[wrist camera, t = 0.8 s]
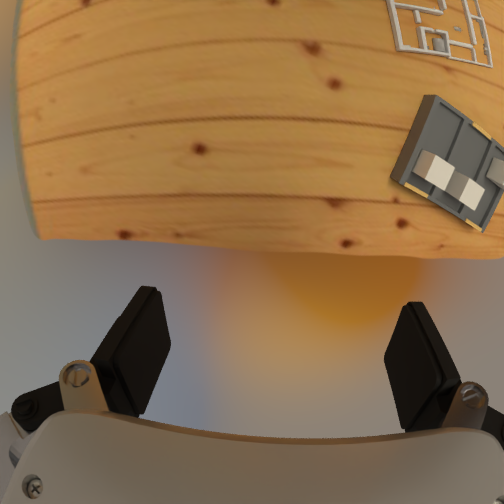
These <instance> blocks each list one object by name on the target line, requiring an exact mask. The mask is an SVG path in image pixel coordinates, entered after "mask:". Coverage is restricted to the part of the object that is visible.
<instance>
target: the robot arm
mask: <svg viewBox="0 0 504 504" xmlns="http://www.w3.org/2000/svg"><path fill="white" fill-rule="evenodd" d="M170 346H171V340H170V336H169V331H168V326H167V321H166V316H165V311H164V306H163V301H162V295H161V292H160V291H157V289H156V287H150V286H141V287H140V288H139V289H138V291H137V292H136V294H135V295H134V297H133V298H132V300H131V301H130V303H129V304H128V306H127V307H126V308H125V310H124V311H123V313H122V314H121V316H119V317H118V318H117V320H116V321H115V323H114V324H113V326H112V327H111V329H110V330H109V332H108V333H107V335H106V336H105V338H104V339H103V341H102V343H101V344H100V346H99V347H98V349H97V351H96V352H95V354H94V355H93V357H92V358H91V360H90V362H88V361H85V360H76V361H72V362H70V363H68V364H67V365H65V366H64V367H63V369H62V370H61V371H60V374H59V381H58V382H55V383H52V384H50V385H47V386H44V387H41V388H39V389H36V390H33V391H31V392H28V393H25V394H22V395H20V396H19V397H18V398H17V399H15V401H14V403H13V405H12V408H11V413H8V412H5V413H3V414H2V415H0V504H504V414H502V413H500V412H498V411H497V410H495V409H493V408H491V407H490V406H488V401H489V398H488V394H487V392H486V390H485V389H484V388H483V387H482V386H481V385H479V384H478V383H475V382H470V381H467V382H464V383H462V382H461V380H460V375H459V373H458V371H457V369H456V366H455V364H454V362H453V360H452V358H451V356H450V354H449V352H448V350H447V348H446V345H445V343H444V342H443V340H442V337H441V336H440V334H439V332H438V330H437V328H436V326H435V324H434V322H433V320H432V318H431V316H430V315H429V313H428V311H427V309H426V307H425V305H424V304H423V303H422V302H408V303H407V305H405V306H403V307H402V310H401V313H400V316H399V318H398V321H397V324H396V327H395V329H394V332H393V335H392V337H391V340H390V342H389V345H388V347H387V350H386V352H385V355H384V363H385V366H386V370H387V373H388V377H389V381H390V385H391V388H392V392H393V396H394V400H395V404H396V408H397V412H398V417H399V421H400V425H401V428H402V429H405V433H399V434H390V435H389V434H388V435H379V436H367V437H352V438H322V439H321V438H309V439H307V438H276V437H275V438H274V437H260V436H259V437H258V436H247V435H237V434H228V433H219V432H212V431H205V430H198V429H192V428H186V427H180V426H175V425H170V424H165V423H160V422H155V421H150V420H145V419H140V418H138V417H139V415H140V414H144V412H145V410H146V407H147V405H148V402H149V400H150V397H151V395H152V392H153V390H154V387H155V385H156V382H157V380H158V377H159V375H160V372H161V370H162V367H163V365H164V363H165V360H166V358H167V356H168V353H169V351H170Z"/></svg>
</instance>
